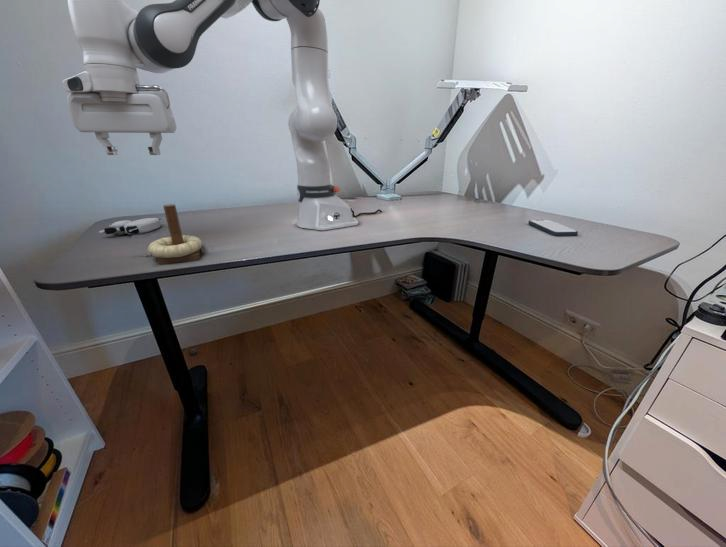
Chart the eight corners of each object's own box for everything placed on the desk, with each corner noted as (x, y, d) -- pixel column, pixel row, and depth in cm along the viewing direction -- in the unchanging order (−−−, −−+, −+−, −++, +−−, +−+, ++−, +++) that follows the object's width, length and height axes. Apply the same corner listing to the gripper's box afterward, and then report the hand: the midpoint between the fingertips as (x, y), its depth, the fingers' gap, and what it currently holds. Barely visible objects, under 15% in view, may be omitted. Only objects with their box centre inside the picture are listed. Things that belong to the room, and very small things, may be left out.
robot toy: (99, 242, 96) (146, 238, 96) (93, 227, 94) (141, 224, 94) (127, 231, 107) (169, 228, 107) (122, 218, 106) (165, 215, 105)
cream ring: (203, 242, 89) (201, 232, 88) (201, 255, 79) (199, 244, 78) (154, 247, 84) (151, 236, 83) (146, 262, 74) (142, 250, 73)
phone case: (579, 236, 103) (548, 223, 118) (580, 231, 102) (549, 219, 117) (553, 237, 102) (526, 224, 117) (555, 232, 102) (527, 219, 116)
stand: (201, 249, 88) (191, 200, 83) (199, 259, 80) (187, 207, 75) (164, 253, 85) (151, 203, 79) (158, 264, 77) (144, 210, 72)
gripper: (173, 87, 69) (187, 154, 74) (78, 86, 68) (99, 154, 74) (157, 82, 63) (173, 155, 68) (53, 81, 62) (77, 155, 68)
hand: (134, 155), depth 71 cm, fingers open, 8 cm apart
